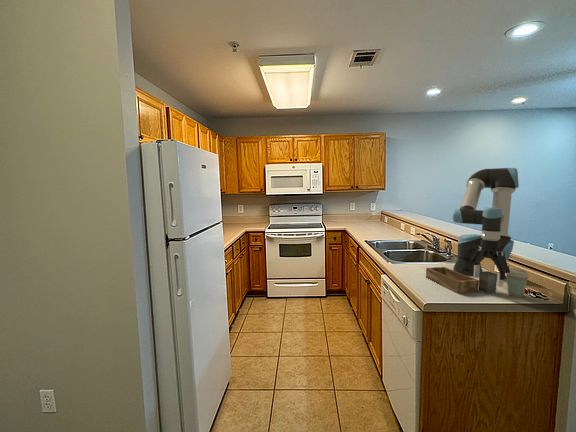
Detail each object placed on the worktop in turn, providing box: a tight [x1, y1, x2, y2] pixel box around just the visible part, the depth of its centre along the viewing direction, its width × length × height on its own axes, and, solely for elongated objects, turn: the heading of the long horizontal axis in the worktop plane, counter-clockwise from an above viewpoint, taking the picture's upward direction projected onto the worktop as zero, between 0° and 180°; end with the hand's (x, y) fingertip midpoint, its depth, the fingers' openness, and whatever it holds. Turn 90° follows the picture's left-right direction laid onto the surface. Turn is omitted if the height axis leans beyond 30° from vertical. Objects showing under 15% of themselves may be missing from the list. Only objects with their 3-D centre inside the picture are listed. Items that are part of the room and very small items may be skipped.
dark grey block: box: [478, 270, 498, 295], centre depth 140 cm, size 5×5×10 cm
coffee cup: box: [505, 268, 530, 298], centre depth 135 cm, size 8×9×12 cm
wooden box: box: [425, 266, 479, 295], centre depth 151 cm, size 11×24×6 cm, turn 10°
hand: (487, 281), depth 139 cm, fingers open, 13 cm apart
